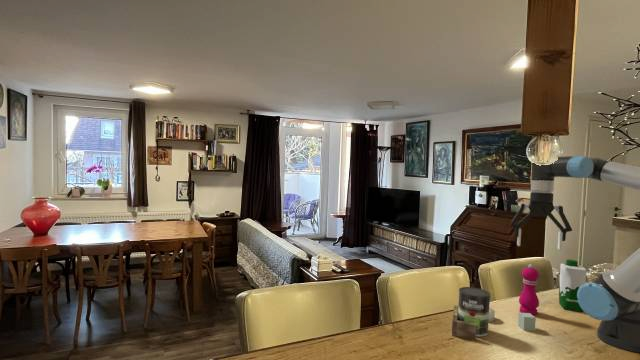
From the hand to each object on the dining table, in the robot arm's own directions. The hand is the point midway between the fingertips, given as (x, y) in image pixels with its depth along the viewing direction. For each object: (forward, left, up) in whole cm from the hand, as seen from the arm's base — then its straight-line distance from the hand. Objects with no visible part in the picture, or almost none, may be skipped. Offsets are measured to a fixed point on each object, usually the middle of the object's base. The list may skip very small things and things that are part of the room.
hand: (538, 247), depth 139 cm
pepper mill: (+1, -9, -29) cm, 30 cm away
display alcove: (+25, +20, -29) cm, 43 cm away
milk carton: (-17, -24, -29) cm, 41 cm away
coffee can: (+22, +20, -29) cm, 41 cm away
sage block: (+4, +9, -29) cm, 30 cm away
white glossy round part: (+18, +6, -29) cm, 34 cm away
